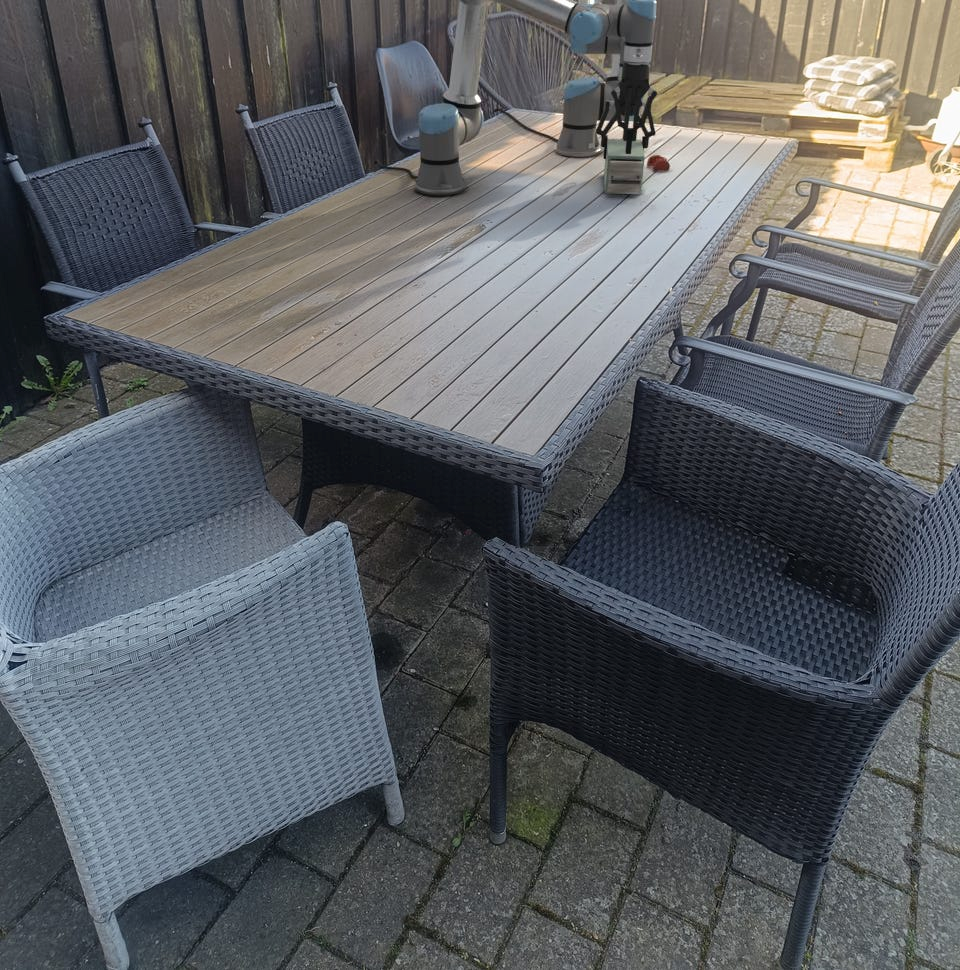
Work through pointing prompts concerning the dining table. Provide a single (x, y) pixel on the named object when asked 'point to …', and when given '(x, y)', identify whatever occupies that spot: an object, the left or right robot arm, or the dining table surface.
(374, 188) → the dining table surface
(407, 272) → the dining table surface
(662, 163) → the red-brown rounded lump
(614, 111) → the right robot arm
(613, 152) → the cabinet
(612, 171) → the drawer
